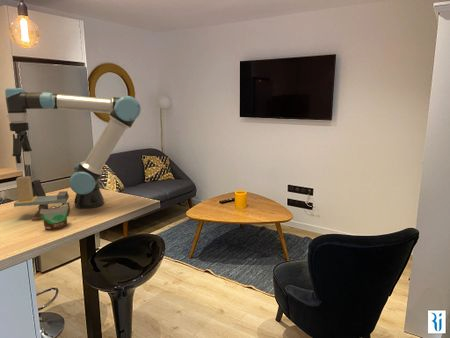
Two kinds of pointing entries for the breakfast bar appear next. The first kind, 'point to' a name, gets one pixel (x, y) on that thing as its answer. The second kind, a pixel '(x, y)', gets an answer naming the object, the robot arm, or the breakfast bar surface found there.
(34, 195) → the phone stand
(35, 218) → the beam stand
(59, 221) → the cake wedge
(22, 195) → the wooden block
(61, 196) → the beam
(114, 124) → the robot arm
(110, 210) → the breakfast bar surface
